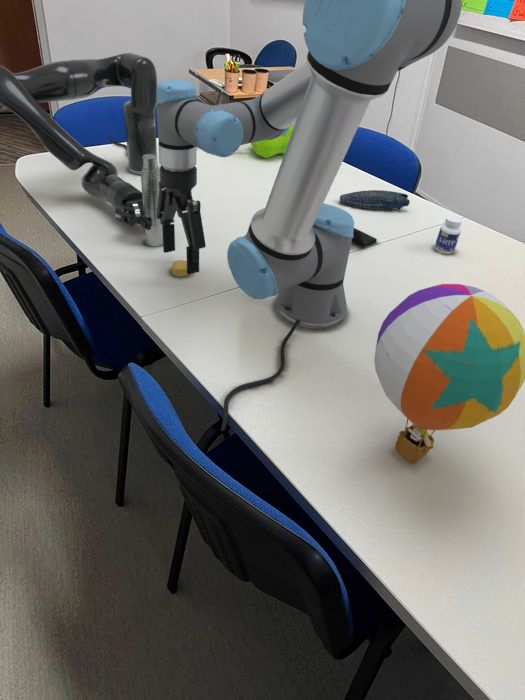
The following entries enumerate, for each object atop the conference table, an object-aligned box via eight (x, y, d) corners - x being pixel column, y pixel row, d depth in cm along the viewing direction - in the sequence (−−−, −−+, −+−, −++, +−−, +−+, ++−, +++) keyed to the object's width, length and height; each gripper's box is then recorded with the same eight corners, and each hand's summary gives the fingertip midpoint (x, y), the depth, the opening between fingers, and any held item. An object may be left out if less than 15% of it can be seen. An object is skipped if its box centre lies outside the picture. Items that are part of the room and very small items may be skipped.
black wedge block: (381, 233, 141) (372, 211, 133) (369, 255, 140) (359, 235, 132) (344, 225, 147) (334, 203, 139) (333, 246, 146) (321, 226, 138)
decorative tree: (215, 117, 188) (295, 117, 193) (215, 147, 195) (292, 146, 200) (221, 131, 174) (307, 131, 180) (221, 163, 181) (304, 161, 186)
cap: (168, 271, 121) (167, 263, 120) (182, 265, 124) (182, 258, 122) (179, 279, 119) (179, 271, 118) (194, 273, 121) (194, 265, 120)
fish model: (408, 214, 157) (412, 198, 153) (339, 207, 158) (341, 191, 154) (406, 206, 162) (410, 190, 159) (339, 199, 163) (341, 183, 160)
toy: (323, 444, 83) (359, 283, 64) (398, 394, 94) (448, 243, 75) (425, 531, 72) (504, 368, 53) (497, 463, 83) (584, 307, 64)
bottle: (156, 236, 134) (151, 151, 121) (167, 242, 132) (163, 156, 119) (141, 241, 132) (135, 155, 118) (153, 248, 129) (147, 160, 116)
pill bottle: (433, 251, 139) (442, 220, 133) (435, 243, 143) (444, 213, 137) (453, 256, 138) (464, 225, 132) (454, 247, 142) (465, 217, 136)
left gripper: (99, 190, 130) (131, 215, 120) (150, 180, 138) (184, 203, 128) (102, 218, 135) (133, 244, 125) (151, 207, 142) (184, 231, 132)
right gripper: (224, 182, 101) (221, 280, 114) (168, 146, 115) (171, 237, 128) (190, 188, 97) (191, 289, 111) (136, 150, 111) (143, 244, 125)
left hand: (158, 223), depth 126 cm, fingers closed on bottle, 4 cm apart
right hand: (180, 261), depth 120 cm, fingers open, 10 cm apart
